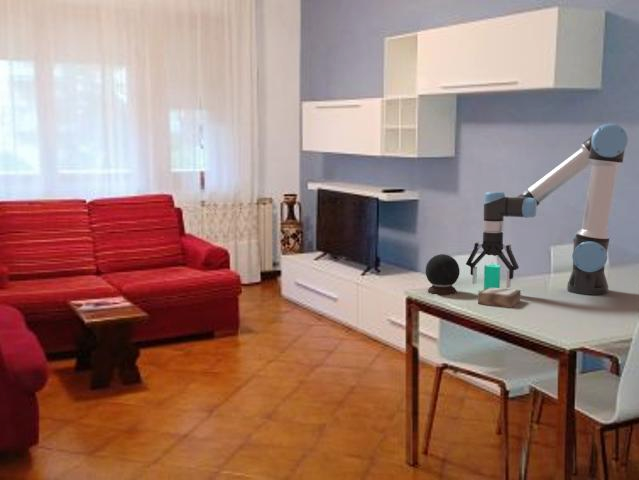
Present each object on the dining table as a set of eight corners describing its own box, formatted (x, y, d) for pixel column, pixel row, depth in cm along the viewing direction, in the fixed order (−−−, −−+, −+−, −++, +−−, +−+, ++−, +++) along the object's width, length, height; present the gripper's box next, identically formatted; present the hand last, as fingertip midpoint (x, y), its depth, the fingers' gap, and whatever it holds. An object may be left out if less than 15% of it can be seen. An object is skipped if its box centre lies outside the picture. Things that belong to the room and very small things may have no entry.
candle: (498, 290, 284) (499, 260, 282) (500, 293, 278) (501, 263, 276) (482, 290, 285) (483, 260, 283) (484, 293, 279) (485, 263, 277)
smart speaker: (436, 296, 274) (436, 258, 272) (419, 290, 286) (419, 253, 284) (465, 293, 279) (466, 255, 277) (447, 287, 291) (448, 251, 289)
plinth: (520, 300, 266) (520, 289, 265) (510, 307, 256) (511, 295, 255) (488, 297, 272) (488, 286, 271) (478, 303, 262) (478, 292, 261)
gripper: (528, 232, 275) (525, 286, 278) (465, 228, 288) (464, 280, 291) (522, 234, 268) (520, 290, 271) (458, 230, 281) (457, 283, 284)
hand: (491, 285), depth 281 cm, fingers open, 13 cm apart
